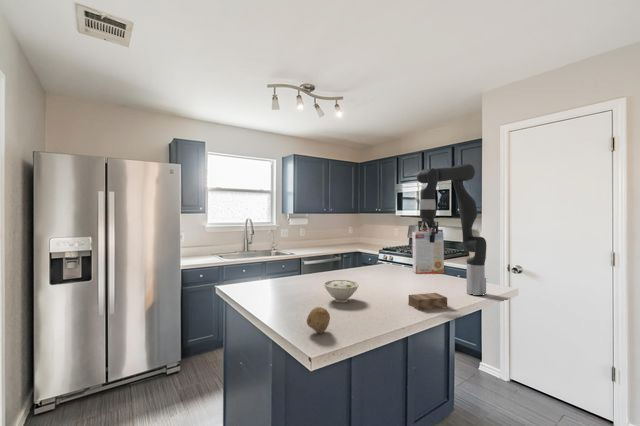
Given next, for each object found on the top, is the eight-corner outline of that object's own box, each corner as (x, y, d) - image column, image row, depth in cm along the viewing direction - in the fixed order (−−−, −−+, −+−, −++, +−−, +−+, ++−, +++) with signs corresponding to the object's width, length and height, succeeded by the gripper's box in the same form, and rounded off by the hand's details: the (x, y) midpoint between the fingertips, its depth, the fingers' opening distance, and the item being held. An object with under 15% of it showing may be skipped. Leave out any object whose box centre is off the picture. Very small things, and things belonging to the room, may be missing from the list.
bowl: (358, 295, 168) (358, 278, 168) (359, 306, 149) (360, 286, 149) (324, 294, 170) (324, 277, 170) (321, 305, 151) (321, 285, 151)
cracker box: (439, 272, 152) (439, 231, 152) (444, 274, 146) (444, 232, 146) (412, 272, 152) (412, 231, 152) (415, 274, 146) (415, 232, 146)
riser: (436, 302, 156) (436, 292, 156) (447, 307, 147) (447, 297, 147) (408, 304, 152) (408, 294, 152) (418, 310, 143) (418, 299, 143)
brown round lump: (304, 336, 112) (304, 310, 112) (309, 327, 121) (309, 303, 121) (328, 338, 111) (328, 311, 111) (331, 329, 120) (331, 304, 120)
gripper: (413, 208, 155) (413, 240, 155) (429, 208, 141) (429, 243, 141) (425, 208, 157) (426, 240, 157) (443, 208, 143) (443, 243, 143)
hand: (427, 241), depth 149 cm, fingers closed on cracker box, 6 cm apart
